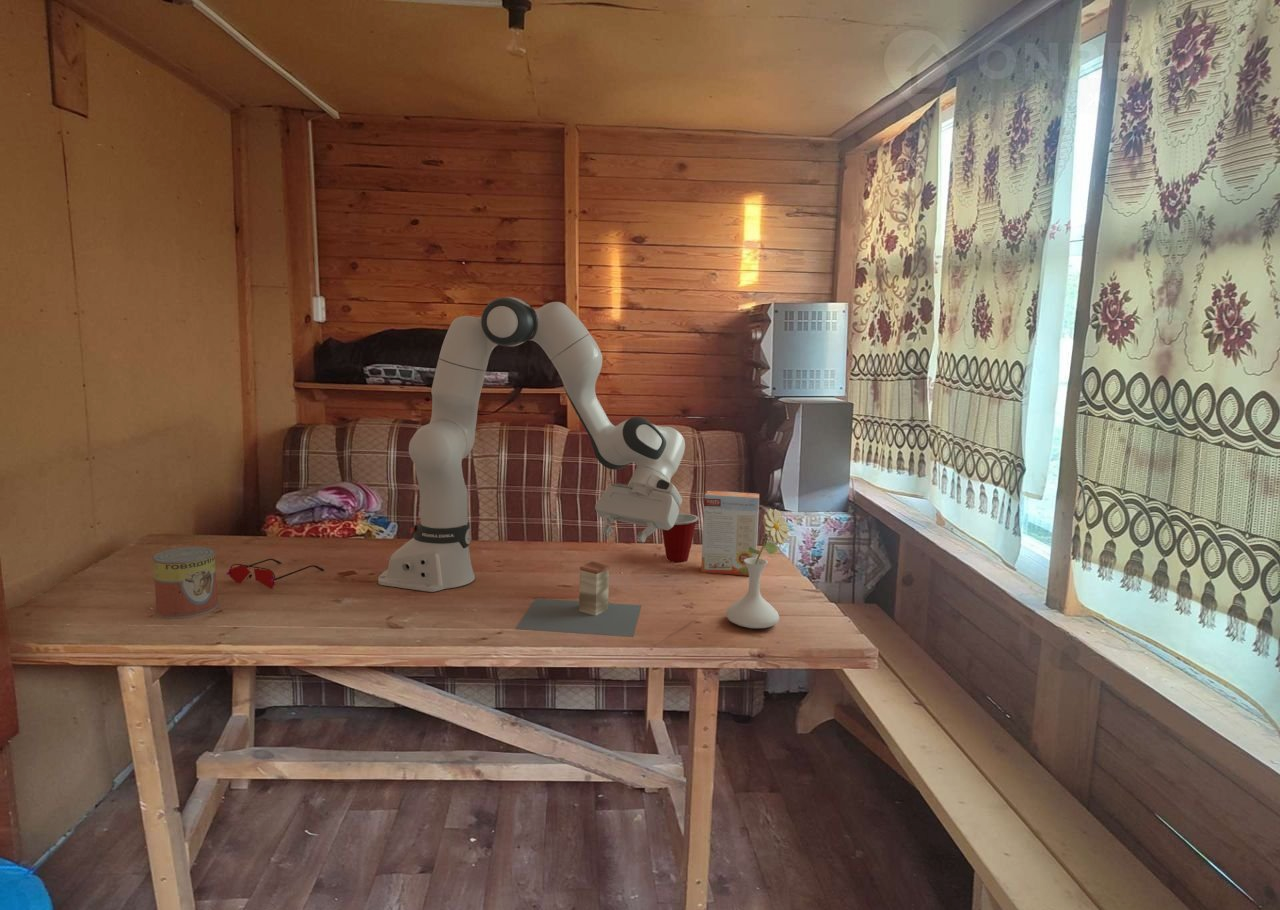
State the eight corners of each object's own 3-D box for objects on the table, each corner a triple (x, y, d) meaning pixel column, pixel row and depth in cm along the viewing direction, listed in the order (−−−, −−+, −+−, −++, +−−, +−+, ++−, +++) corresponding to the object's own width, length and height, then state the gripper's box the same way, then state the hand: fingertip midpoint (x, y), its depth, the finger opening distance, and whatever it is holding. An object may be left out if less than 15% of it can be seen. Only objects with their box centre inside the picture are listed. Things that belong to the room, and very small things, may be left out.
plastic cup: (656, 553, 212) (658, 511, 210) (695, 554, 211) (697, 512, 210) (656, 564, 201) (657, 520, 199) (696, 566, 201) (698, 522, 199)
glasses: (226, 583, 177) (224, 563, 176) (280, 564, 192) (279, 545, 192) (272, 592, 173) (271, 570, 172) (324, 571, 188) (324, 552, 187)
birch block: (595, 615, 161) (596, 570, 160) (579, 610, 164) (579, 566, 162) (608, 609, 165) (609, 565, 163) (591, 605, 167) (592, 561, 166)
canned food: (176, 622, 152) (172, 565, 151) (144, 611, 158) (140, 555, 156) (229, 606, 162) (226, 552, 160) (198, 595, 168) (195, 543, 166)
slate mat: (515, 632, 153) (515, 628, 153) (535, 601, 170) (535, 598, 170) (633, 640, 151) (633, 636, 151) (641, 608, 168) (641, 605, 168)
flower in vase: (743, 636, 155) (749, 517, 151) (715, 617, 165) (721, 505, 161) (796, 628, 160) (804, 513, 156) (766, 610, 170) (773, 501, 166)
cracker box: (755, 570, 199) (760, 492, 196) (755, 577, 193) (759, 497, 190) (702, 565, 201) (706, 489, 198) (700, 572, 195) (704, 493, 192)
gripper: (605, 474, 181) (579, 521, 174) (679, 485, 170) (655, 537, 163) (616, 489, 185) (591, 536, 178) (688, 502, 174) (665, 552, 167)
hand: (622, 537), depth 171 cm, fingers open, 8 cm apart
